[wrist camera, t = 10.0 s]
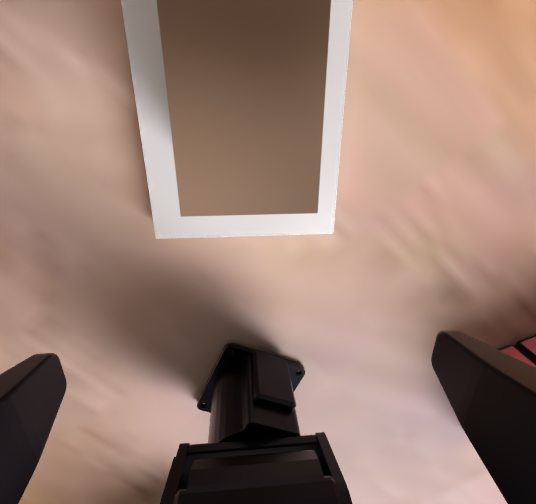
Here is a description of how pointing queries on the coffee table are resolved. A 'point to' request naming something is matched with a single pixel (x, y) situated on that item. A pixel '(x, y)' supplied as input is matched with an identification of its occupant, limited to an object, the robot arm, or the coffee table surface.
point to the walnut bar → (246, 103)
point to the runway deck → (161, 147)
